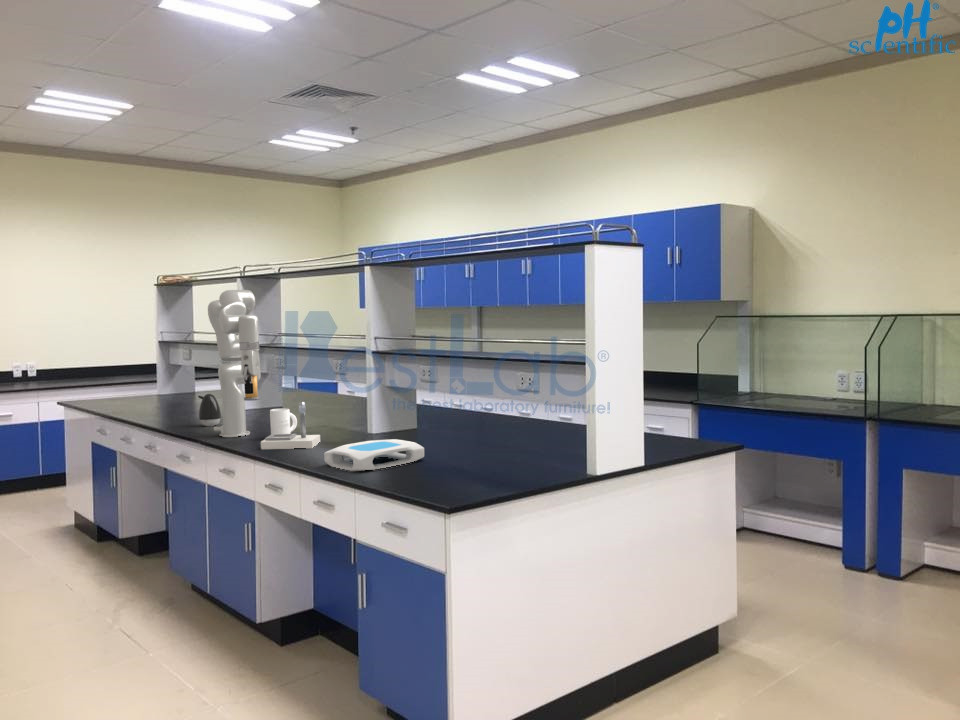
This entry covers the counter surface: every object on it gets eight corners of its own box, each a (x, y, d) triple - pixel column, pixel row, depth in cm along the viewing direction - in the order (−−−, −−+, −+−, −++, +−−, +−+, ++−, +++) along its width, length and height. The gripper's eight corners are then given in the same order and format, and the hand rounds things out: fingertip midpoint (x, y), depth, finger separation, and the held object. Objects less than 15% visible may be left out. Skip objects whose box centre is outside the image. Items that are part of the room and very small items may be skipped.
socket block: (260, 449, 304) (260, 439, 304) (271, 443, 318) (270, 433, 318) (312, 448, 304) (312, 438, 303) (320, 442, 318) (319, 432, 317)
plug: (242, 400, 307) (240, 375, 306) (246, 399, 313) (245, 374, 312) (256, 400, 307) (255, 374, 306) (261, 398, 313) (260, 373, 312)
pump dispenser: (204, 424, 377) (203, 392, 376) (225, 424, 376) (224, 392, 375) (194, 427, 367) (192, 395, 366) (215, 427, 366) (213, 394, 365)
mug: (302, 436, 333) (301, 408, 332) (277, 440, 325) (276, 411, 324) (292, 434, 339) (291, 406, 338) (267, 438, 331) (266, 409, 330)
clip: (306, 442, 298) (305, 405, 297) (300, 442, 297) (298, 406, 296) (306, 436, 312) (305, 401, 311) (300, 436, 311) (299, 401, 310)
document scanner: (323, 466, 270) (323, 448, 269) (388, 454, 290) (387, 437, 289) (360, 474, 255) (359, 455, 255) (425, 461, 275) (425, 443, 274)
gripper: (252, 347, 300) (254, 395, 301) (265, 345, 317) (267, 390, 318) (232, 348, 300) (234, 395, 301) (246, 346, 317) (248, 390, 318)
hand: (251, 392), depth 309 cm, fingers closed on plug, 4 cm apart
